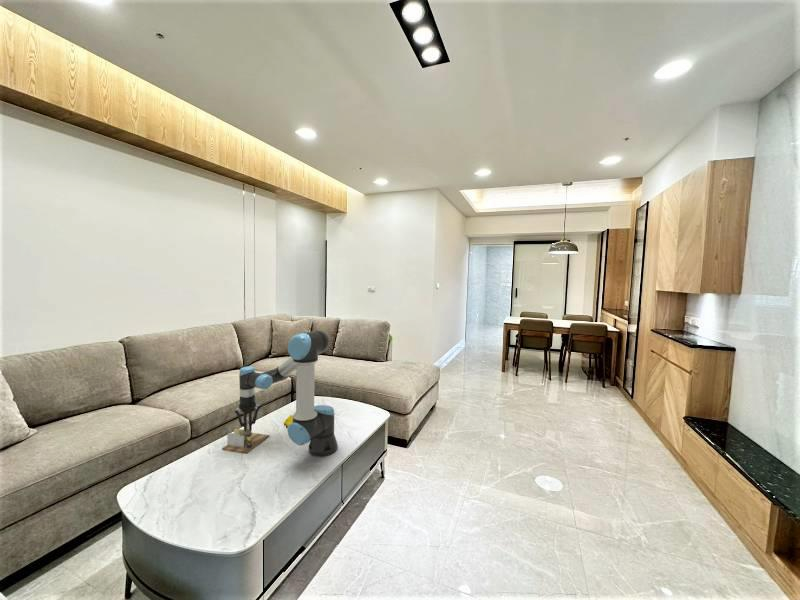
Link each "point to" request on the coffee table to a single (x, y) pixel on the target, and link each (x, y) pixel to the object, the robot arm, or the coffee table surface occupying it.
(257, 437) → the walnut board
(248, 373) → the robot arm
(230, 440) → the fixed leaf
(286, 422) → the door knocker
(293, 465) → the coffee table surface
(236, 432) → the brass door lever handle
